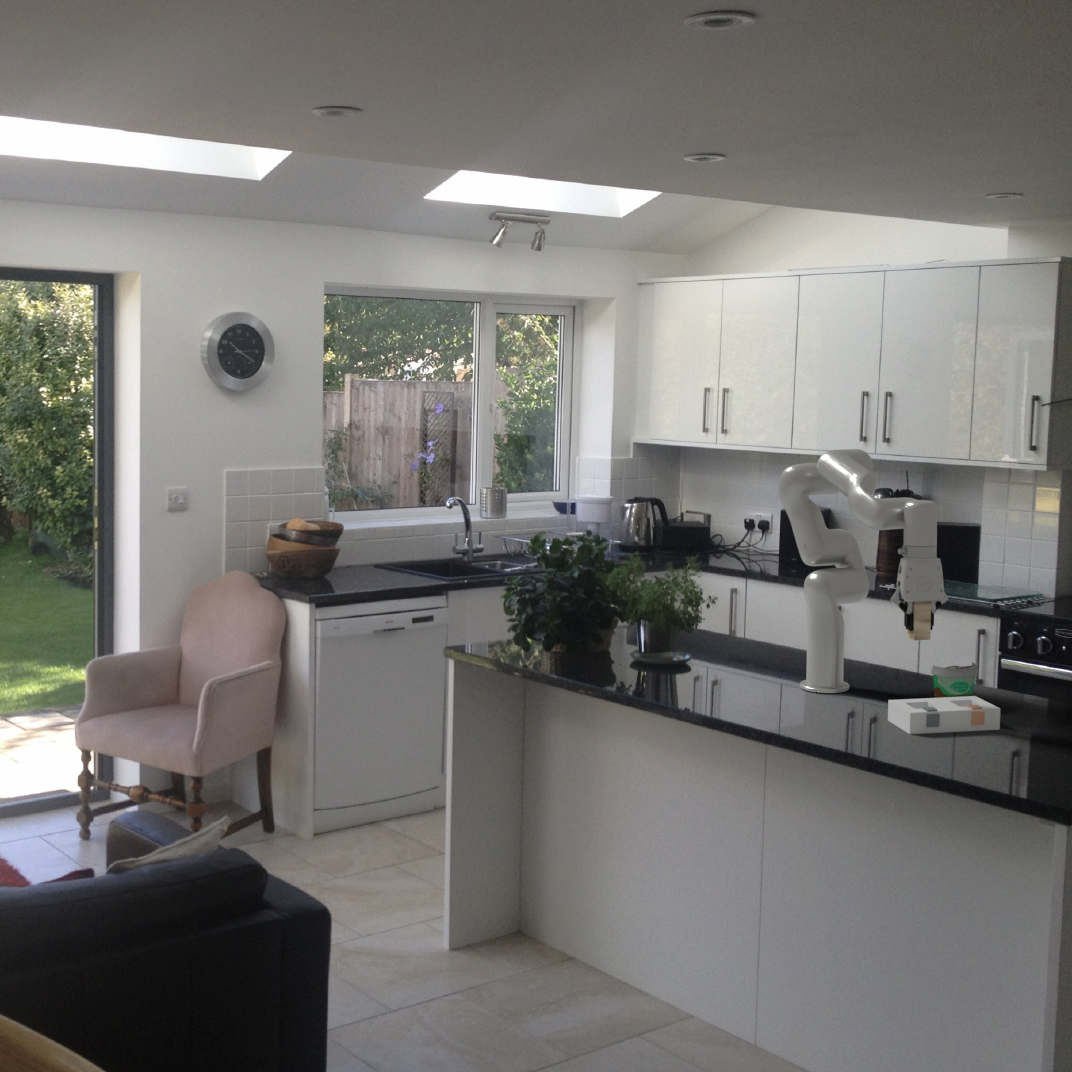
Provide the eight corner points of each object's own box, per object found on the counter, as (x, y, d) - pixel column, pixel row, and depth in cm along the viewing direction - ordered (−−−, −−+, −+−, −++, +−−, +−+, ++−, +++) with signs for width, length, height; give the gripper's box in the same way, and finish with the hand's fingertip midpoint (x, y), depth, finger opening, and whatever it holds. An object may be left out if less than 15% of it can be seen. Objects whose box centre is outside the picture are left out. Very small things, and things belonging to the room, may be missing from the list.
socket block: (887, 720, 303) (888, 698, 302) (974, 716, 306) (975, 694, 306) (910, 734, 291) (910, 711, 290) (1000, 730, 294) (1001, 707, 294)
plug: (906, 637, 304) (907, 595, 303) (923, 636, 304) (923, 595, 303) (914, 640, 300) (914, 598, 299) (930, 639, 300) (931, 597, 299)
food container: (944, 710, 312) (945, 670, 310) (929, 704, 318) (931, 665, 316) (987, 706, 315) (989, 667, 314) (973, 701, 321) (974, 662, 320)
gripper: (892, 555, 295) (891, 633, 297) (960, 553, 297) (959, 630, 299) (879, 552, 302) (879, 628, 304) (946, 549, 304) (945, 625, 306)
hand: (919, 628), depth 302 cm, fingers closed on plug, 4 cm apart
